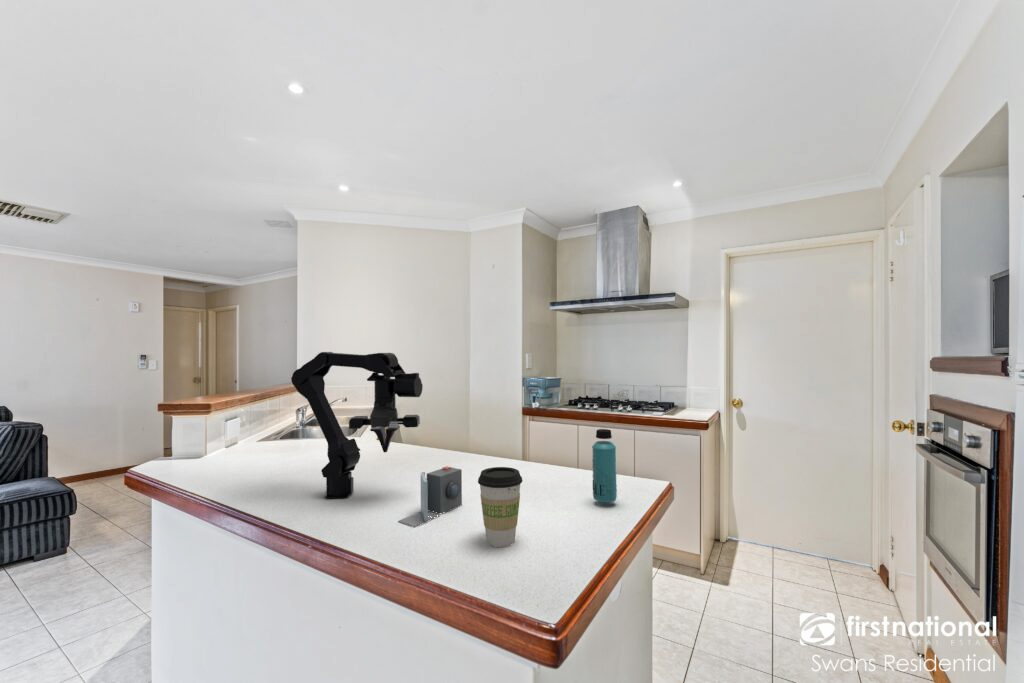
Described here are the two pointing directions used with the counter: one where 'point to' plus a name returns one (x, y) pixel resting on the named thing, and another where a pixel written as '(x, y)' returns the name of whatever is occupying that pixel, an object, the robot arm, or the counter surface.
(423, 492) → the side door
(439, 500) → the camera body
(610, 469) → the beverage bottle
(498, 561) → the counter surface
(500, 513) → the coffee cup
